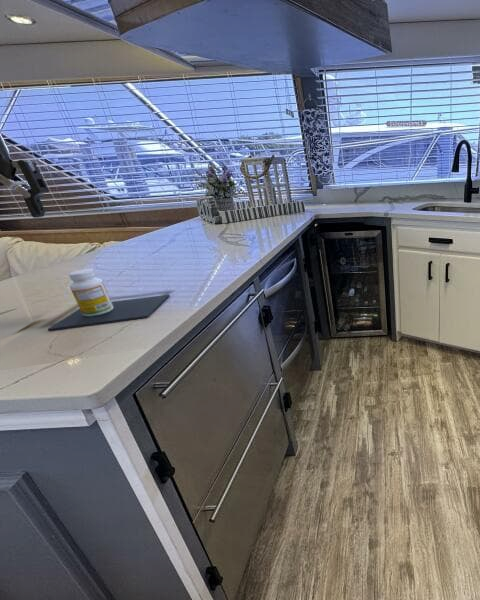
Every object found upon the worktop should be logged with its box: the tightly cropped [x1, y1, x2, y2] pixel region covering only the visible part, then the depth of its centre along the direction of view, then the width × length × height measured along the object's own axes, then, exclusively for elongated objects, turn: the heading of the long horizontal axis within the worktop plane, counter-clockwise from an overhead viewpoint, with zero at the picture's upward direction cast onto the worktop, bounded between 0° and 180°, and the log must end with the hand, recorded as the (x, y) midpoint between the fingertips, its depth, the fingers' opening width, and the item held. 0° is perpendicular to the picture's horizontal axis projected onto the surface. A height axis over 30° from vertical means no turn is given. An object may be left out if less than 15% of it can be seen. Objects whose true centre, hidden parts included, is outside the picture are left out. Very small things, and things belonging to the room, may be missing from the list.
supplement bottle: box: [68, 268, 114, 317], centre depth 71 cm, size 5×5×10 cm
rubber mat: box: [47, 294, 170, 332], centre depth 74 cm, size 18×13×1 cm
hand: (12, 218), depth 63 cm, fingers open, 8 cm apart
